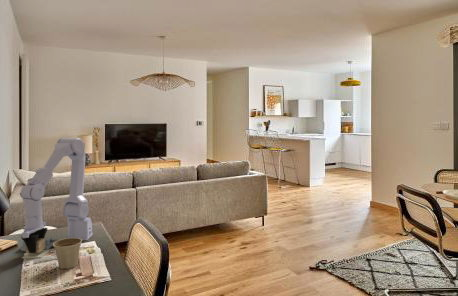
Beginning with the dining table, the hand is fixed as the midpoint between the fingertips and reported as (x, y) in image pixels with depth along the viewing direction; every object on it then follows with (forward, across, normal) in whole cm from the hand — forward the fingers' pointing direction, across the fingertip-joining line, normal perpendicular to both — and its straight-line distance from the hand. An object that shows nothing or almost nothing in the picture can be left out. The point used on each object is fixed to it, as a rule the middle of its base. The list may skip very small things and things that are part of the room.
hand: (36, 250), depth 135 cm
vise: (+2, -8, -2) cm, 8 cm away
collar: (0, 0, 0) cm, 0 cm away
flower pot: (+2, +12, +17) cm, 21 cm away
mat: (+2, 0, 0) cm, 2 cm away
